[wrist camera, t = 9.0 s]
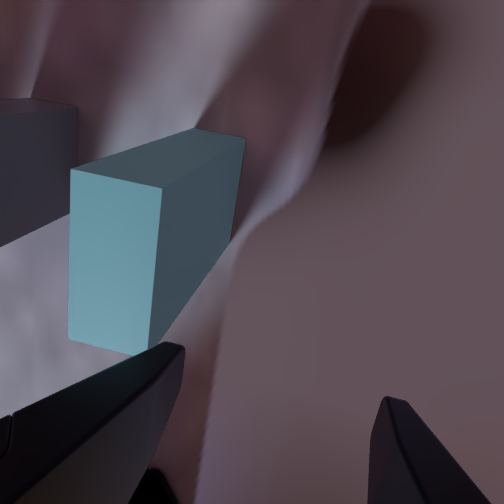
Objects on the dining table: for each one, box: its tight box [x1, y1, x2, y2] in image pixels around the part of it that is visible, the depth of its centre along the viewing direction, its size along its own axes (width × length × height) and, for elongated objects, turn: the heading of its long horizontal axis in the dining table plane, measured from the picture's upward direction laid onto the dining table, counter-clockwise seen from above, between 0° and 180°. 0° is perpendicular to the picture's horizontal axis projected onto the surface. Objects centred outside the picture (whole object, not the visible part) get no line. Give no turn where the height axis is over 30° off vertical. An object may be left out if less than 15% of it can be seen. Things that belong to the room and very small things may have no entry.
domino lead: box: [68, 128, 246, 356], centre depth 17 cm, size 2×5×10 cm, turn 171°
